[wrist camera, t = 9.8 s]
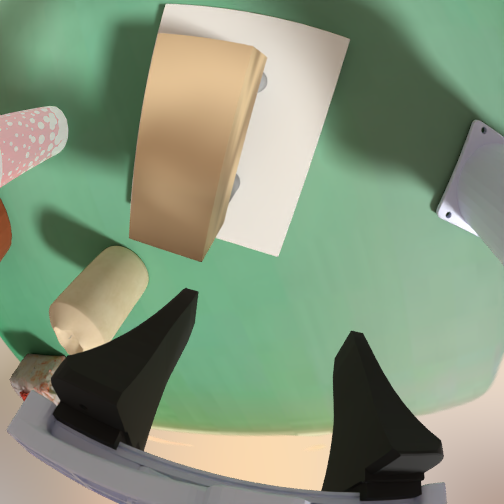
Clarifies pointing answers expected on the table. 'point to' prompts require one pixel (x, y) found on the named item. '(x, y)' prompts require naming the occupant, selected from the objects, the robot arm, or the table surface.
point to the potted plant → (4, 231)
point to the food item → (36, 376)
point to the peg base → (270, 114)
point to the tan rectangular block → (191, 140)
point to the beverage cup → (30, 139)
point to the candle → (98, 300)
